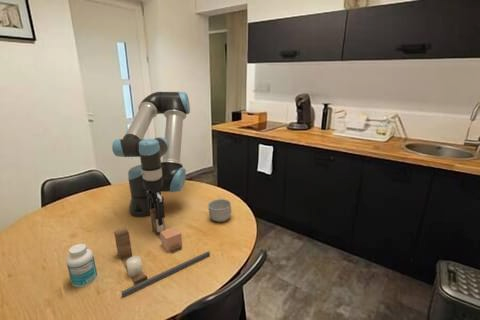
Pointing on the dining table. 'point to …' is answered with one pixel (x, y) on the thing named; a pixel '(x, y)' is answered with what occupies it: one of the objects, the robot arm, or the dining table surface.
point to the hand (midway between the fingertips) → (158, 228)
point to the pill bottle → (81, 265)
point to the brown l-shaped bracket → (126, 251)
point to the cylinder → (134, 266)
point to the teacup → (219, 209)
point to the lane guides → (164, 274)
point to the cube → (170, 238)
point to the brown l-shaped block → (154, 228)
